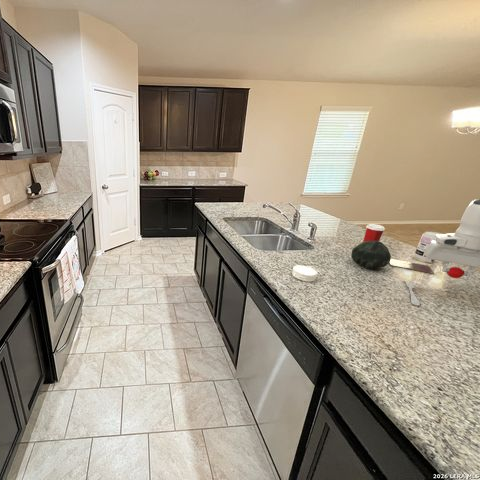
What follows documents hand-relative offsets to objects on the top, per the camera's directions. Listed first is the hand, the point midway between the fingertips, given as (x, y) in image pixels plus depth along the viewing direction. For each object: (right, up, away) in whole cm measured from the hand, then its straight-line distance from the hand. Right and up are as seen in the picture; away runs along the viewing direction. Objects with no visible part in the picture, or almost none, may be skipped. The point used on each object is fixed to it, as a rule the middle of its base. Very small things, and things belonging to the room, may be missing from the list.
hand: (454, 273), depth 101 cm
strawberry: (0, 0, 0) cm, 0 cm away
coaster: (-51, -4, +16) cm, 54 cm away
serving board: (+9, 0, +27) cm, 29 cm away
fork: (-13, -9, +4) cm, 17 cm away
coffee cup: (+3, +7, +46) cm, 46 cm away
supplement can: (+24, +3, +34) cm, 42 cm away
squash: (-12, 0, +27) cm, 30 cm away
